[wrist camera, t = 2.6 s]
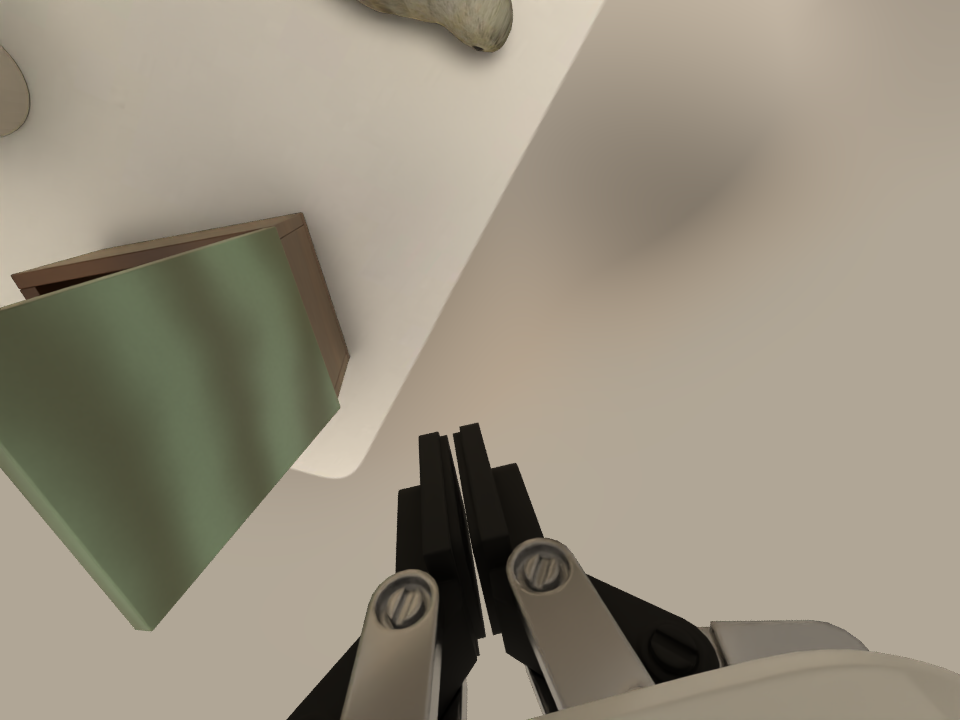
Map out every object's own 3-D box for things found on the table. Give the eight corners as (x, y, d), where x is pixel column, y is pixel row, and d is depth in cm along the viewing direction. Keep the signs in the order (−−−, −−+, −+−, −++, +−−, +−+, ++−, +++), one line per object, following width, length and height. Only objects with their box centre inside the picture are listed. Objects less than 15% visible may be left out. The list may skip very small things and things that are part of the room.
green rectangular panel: (134, 630, 15) (152, 632, 15) (-108, 340, 10) (-87, 337, 10) (330, 407, 28) (341, 407, 28) (263, 228, 23) (275, 226, 23)
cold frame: (181, 392, 34) (124, 451, 27) (103, 248, 29) (9, 275, 22) (350, 356, 35) (336, 404, 28) (302, 212, 30) (271, 226, 23)
